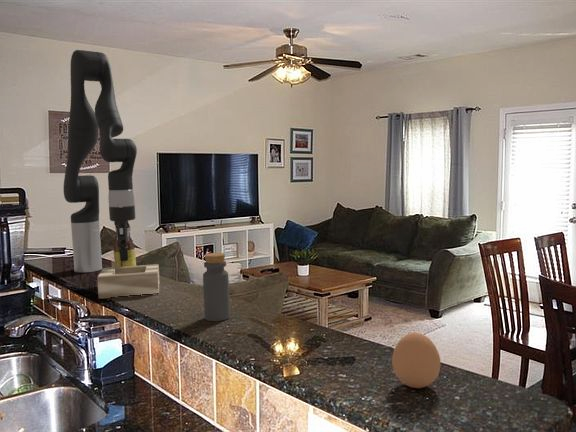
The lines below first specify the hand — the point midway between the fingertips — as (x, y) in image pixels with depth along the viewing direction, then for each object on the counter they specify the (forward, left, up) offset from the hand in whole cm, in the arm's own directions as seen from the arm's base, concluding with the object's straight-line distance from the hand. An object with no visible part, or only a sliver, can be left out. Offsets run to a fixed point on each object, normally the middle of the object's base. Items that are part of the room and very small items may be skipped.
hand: (125, 258), depth 165 cm
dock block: (+11, +2, -8) cm, 14 cm away
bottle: (+47, +24, -8) cm, 53 cm away
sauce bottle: (0, 0, -8) cm, 8 cm away
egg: (+95, +51, -8) cm, 108 cm away
